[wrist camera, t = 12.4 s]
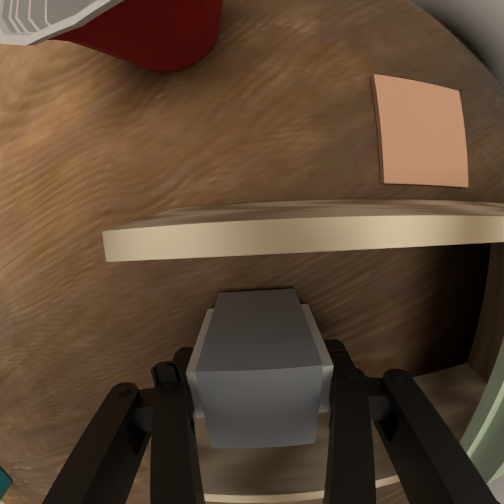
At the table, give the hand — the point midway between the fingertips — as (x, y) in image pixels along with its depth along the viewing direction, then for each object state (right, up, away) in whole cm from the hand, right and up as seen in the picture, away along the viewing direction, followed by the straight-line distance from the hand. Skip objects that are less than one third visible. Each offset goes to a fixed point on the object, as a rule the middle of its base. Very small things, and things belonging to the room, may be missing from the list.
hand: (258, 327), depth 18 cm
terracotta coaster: (+11, +12, -2) cm, 17 cm away
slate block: (0, 0, 0) cm, 0 cm away
